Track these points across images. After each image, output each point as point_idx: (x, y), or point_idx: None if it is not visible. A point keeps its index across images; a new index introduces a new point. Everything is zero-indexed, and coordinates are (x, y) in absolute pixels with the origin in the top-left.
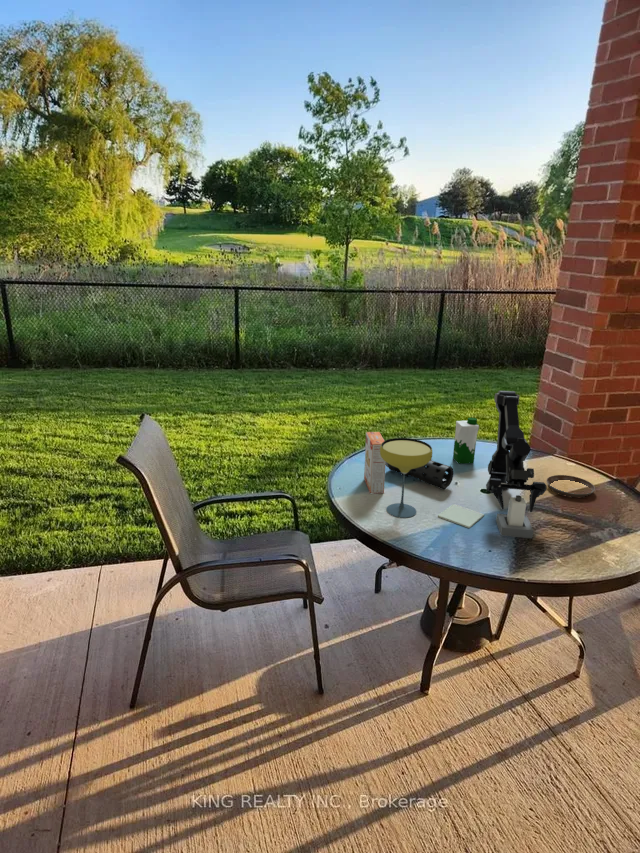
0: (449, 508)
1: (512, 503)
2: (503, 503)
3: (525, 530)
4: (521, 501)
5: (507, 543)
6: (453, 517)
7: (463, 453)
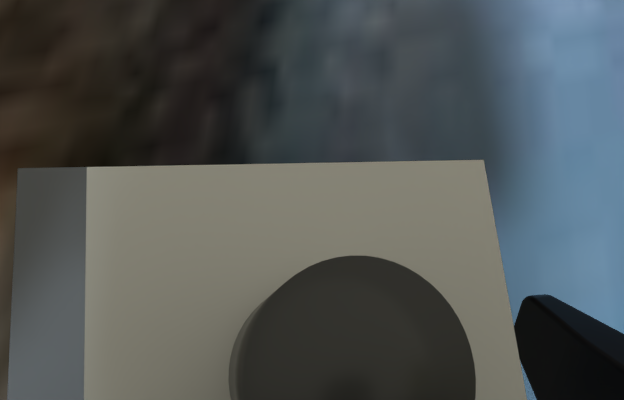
0: None
1: (472, 169)
2: (601, 349)
3: None
4: (216, 325)
5: (327, 59)
6: None
7: None
